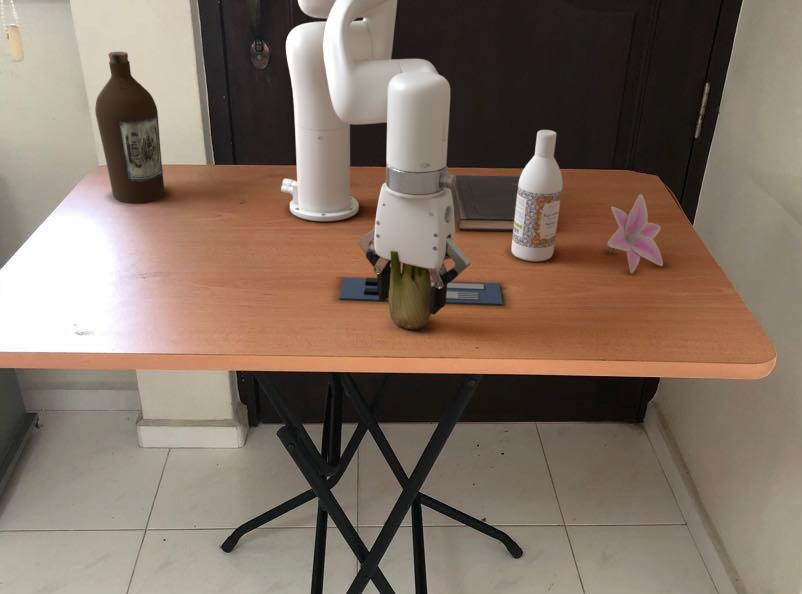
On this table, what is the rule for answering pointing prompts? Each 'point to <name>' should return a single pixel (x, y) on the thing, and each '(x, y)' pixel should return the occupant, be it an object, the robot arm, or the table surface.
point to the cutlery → (449, 286)
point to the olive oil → (129, 135)
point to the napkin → (488, 296)
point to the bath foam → (538, 202)
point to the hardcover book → (485, 202)
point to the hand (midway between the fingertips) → (410, 303)
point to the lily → (636, 235)
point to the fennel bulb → (409, 294)
